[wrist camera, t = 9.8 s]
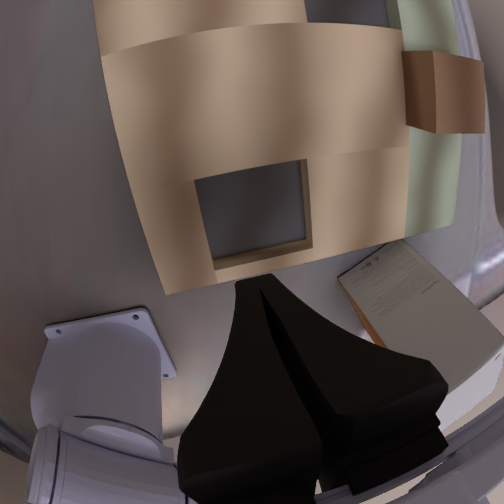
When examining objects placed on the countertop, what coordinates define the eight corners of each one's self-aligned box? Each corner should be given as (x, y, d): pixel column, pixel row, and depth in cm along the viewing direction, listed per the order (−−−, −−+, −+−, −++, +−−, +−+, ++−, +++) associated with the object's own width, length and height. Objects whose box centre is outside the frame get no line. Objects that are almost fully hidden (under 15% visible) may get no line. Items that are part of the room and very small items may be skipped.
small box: (335, 277, 24) (425, 410, 13) (398, 233, 23) (511, 338, 12) (364, 330, 28) (432, 439, 17) (416, 293, 27) (497, 388, 16)
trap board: (166, 282, 21) (165, 295, 20) (95, -37, 10) (89, -46, 9) (441, 217, 23) (452, 224, 22) (429, -36, 12) (441, -39, 11)
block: (405, 125, 17) (436, 134, 15) (401, 51, 15) (432, 50, 12) (455, 124, 18) (484, 133, 15) (452, 59, 15) (483, 61, 13)
